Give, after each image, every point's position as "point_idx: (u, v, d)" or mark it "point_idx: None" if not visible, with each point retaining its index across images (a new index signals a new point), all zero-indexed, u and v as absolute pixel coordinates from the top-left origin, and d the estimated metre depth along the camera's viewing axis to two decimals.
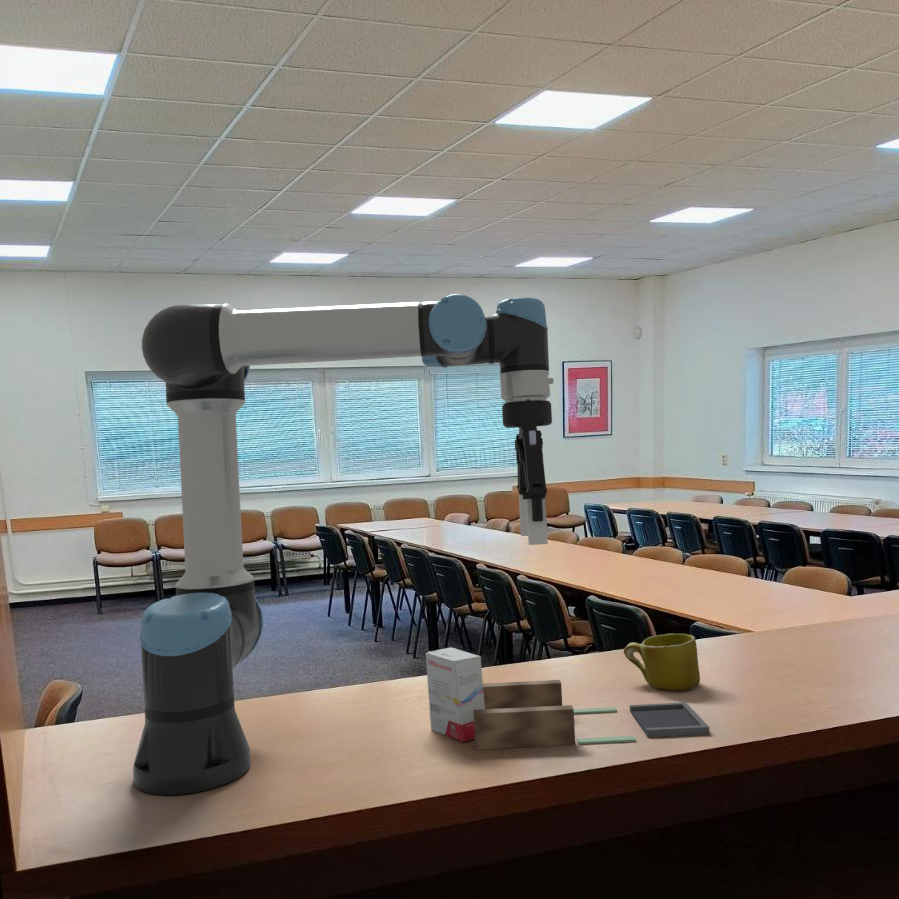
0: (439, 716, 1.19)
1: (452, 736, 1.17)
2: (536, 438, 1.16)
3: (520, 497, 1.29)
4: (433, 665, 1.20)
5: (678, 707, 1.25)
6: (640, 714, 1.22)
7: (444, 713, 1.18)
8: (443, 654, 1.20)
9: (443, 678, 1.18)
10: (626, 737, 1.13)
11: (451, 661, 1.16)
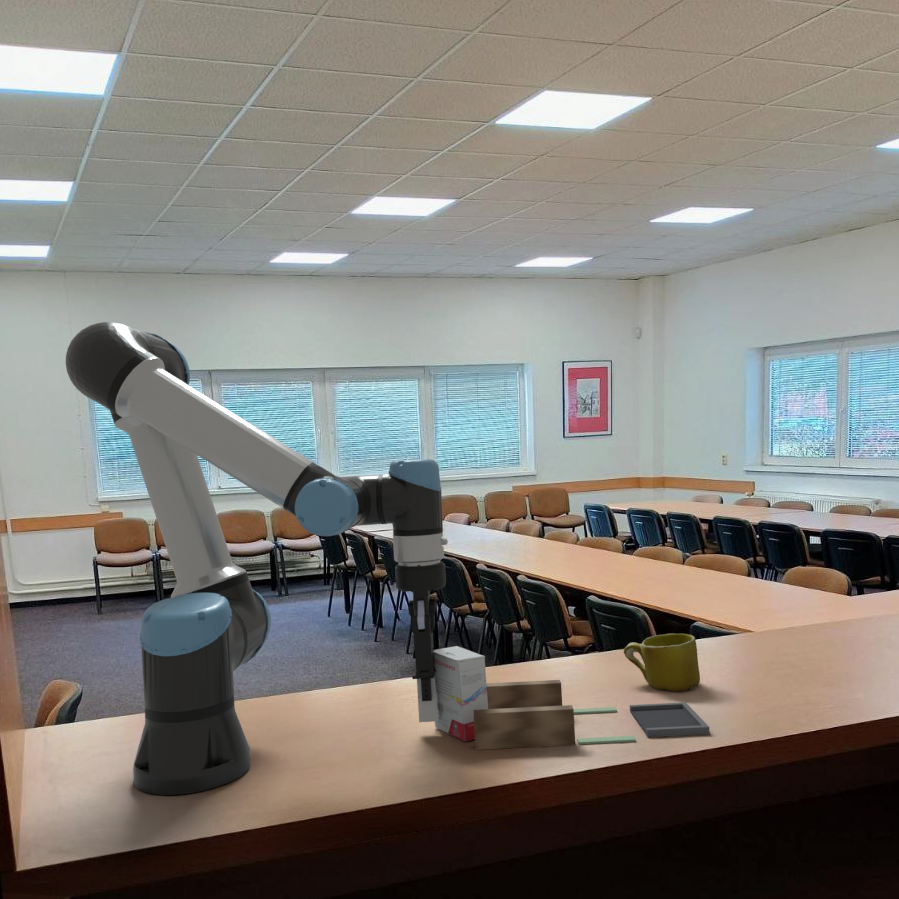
0: (443, 715, 1.20)
1: (454, 735, 1.17)
2: (425, 625, 1.14)
3: None
4: (437, 663, 1.20)
5: (678, 707, 1.25)
6: (640, 714, 1.22)
7: (447, 711, 1.18)
8: (448, 653, 1.20)
9: (447, 676, 1.18)
10: (626, 737, 1.13)
11: (454, 660, 1.16)
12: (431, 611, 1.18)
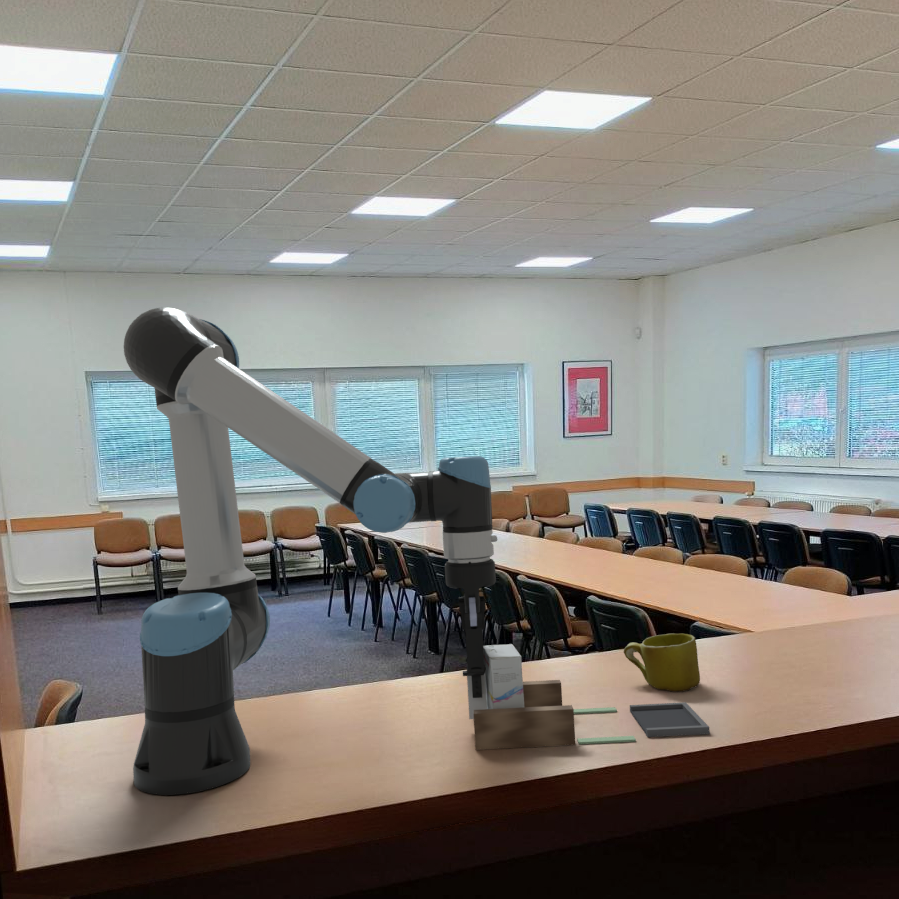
0: None
1: None
2: (477, 622, 1.14)
3: None
4: (484, 659, 1.22)
5: (678, 707, 1.25)
6: (640, 714, 1.22)
7: (488, 707, 1.20)
8: (494, 649, 1.21)
9: (487, 672, 1.19)
10: (626, 737, 1.13)
11: (488, 657, 1.17)
12: (482, 608, 1.18)
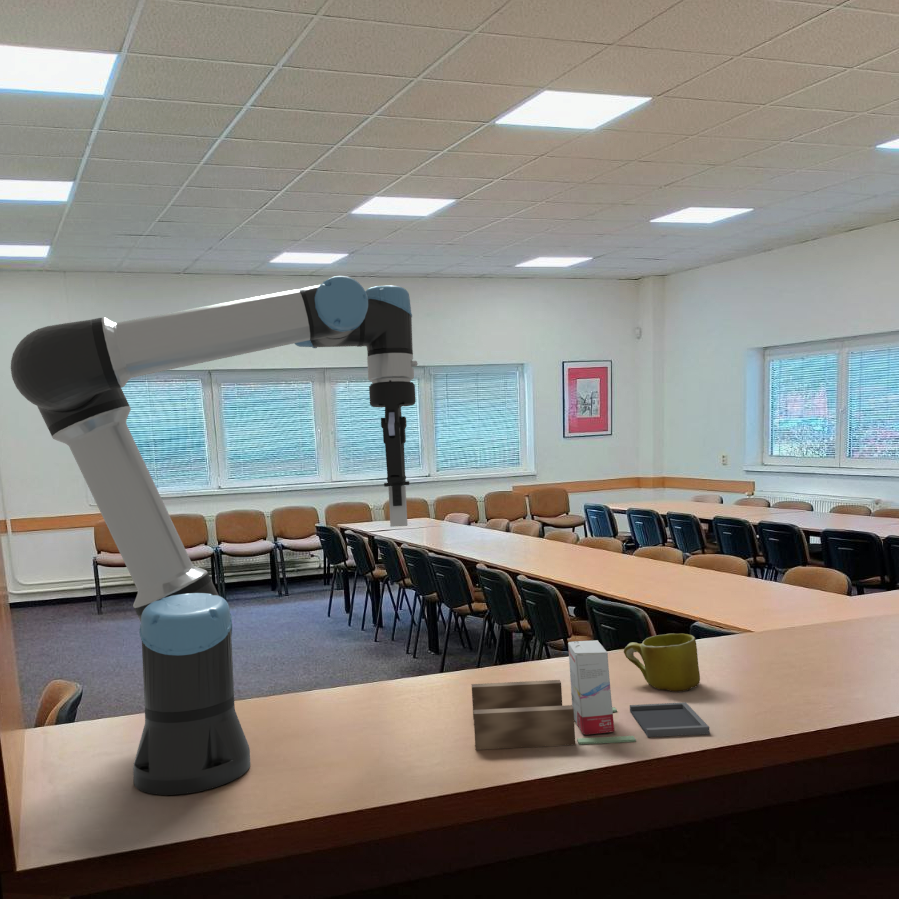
0: (574, 706, 1.21)
1: (579, 727, 1.18)
2: (395, 431, 1.26)
3: None
4: (570, 655, 1.22)
5: (678, 707, 1.25)
6: (640, 714, 1.22)
7: (575, 703, 1.20)
8: (579, 645, 1.21)
9: (573, 668, 1.19)
10: (626, 737, 1.13)
11: (574, 653, 1.17)
12: (401, 424, 1.30)
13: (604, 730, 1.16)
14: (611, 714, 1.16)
